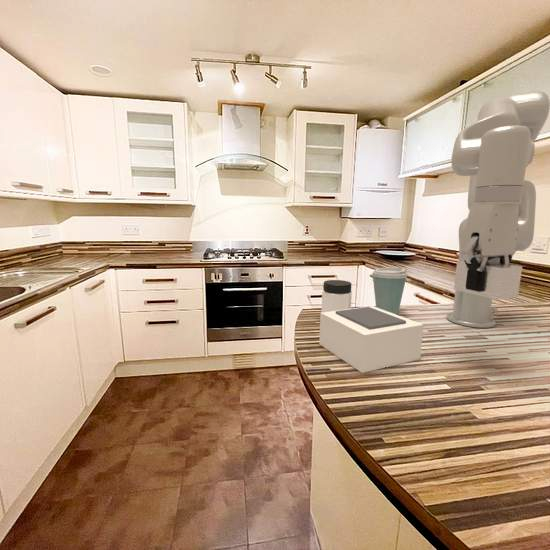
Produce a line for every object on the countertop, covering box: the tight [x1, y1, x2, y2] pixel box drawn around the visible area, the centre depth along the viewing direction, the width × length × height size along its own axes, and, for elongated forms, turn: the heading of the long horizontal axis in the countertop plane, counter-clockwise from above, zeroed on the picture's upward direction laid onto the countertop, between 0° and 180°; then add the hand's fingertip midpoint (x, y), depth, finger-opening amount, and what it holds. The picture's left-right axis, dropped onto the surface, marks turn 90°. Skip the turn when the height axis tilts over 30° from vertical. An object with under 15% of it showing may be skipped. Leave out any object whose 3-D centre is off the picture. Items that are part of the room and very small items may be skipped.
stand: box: [318, 305, 424, 374], centre depth 72 cm, size 16×16×9 cm
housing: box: [453, 256, 523, 301], centre depth 62 cm, size 6×9×7 cm, turn 24°
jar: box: [321, 279, 353, 313], centre depth 93 cm, size 9×8×12 cm
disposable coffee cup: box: [371, 267, 408, 315], centre depth 101 cm, size 11×11×15 cm
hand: (485, 287), depth 63 cm, fingers closed on housing, 6 cm apart
